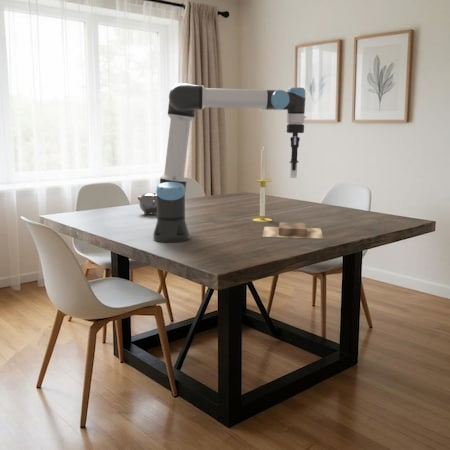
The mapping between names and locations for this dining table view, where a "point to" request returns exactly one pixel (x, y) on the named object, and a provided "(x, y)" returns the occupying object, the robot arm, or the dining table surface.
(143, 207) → the piggy bank
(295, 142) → the robot arm
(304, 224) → the panel
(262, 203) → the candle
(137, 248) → the dining table surface
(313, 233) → the light wooden board
